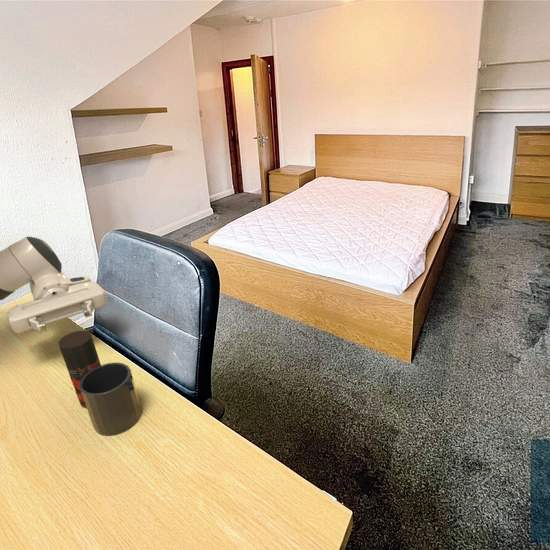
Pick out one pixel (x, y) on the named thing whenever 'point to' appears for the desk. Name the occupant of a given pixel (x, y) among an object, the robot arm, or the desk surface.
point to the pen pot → (111, 398)
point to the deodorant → (79, 357)
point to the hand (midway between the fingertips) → (65, 321)
